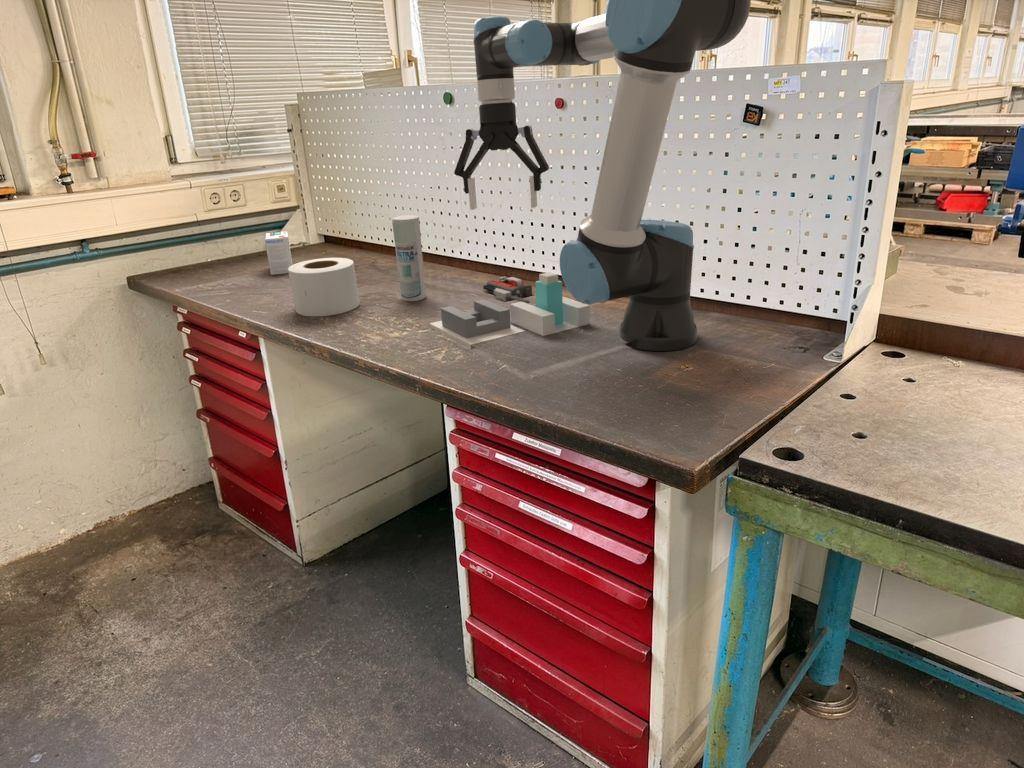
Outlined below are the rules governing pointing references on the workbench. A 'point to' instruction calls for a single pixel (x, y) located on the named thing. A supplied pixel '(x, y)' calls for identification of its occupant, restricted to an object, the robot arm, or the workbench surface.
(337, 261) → the roll of tape
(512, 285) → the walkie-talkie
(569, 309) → the offset white blocks
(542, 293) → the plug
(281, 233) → the light bulb box
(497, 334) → the grey notched fixture
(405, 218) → the spray can
